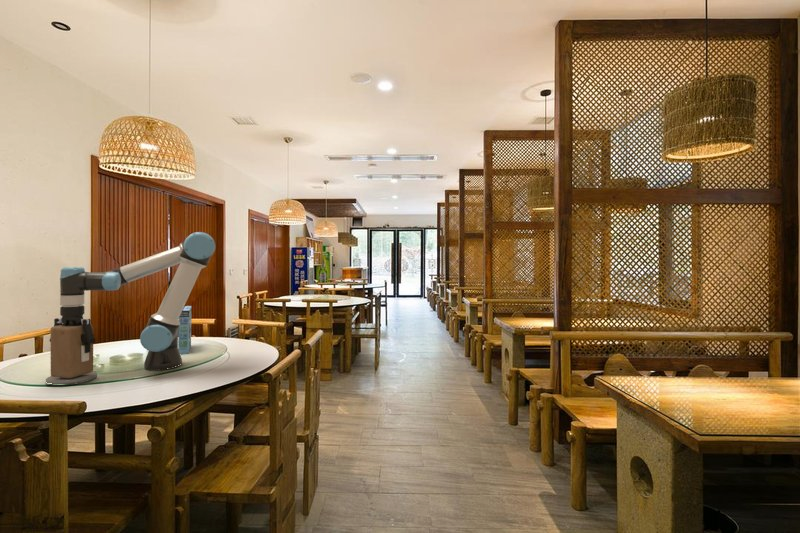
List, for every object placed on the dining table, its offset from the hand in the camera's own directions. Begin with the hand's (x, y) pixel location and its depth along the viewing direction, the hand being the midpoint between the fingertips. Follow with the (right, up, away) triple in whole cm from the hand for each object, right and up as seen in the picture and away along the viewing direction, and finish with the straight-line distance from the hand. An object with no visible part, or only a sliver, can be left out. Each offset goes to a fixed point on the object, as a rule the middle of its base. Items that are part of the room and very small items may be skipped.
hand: (72, 360), depth 160 cm
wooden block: (0, -6, 0) cm, 6 cm away
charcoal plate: (0, -8, 0) cm, 8 cm away
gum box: (+16, -8, +55) cm, 58 cm away
